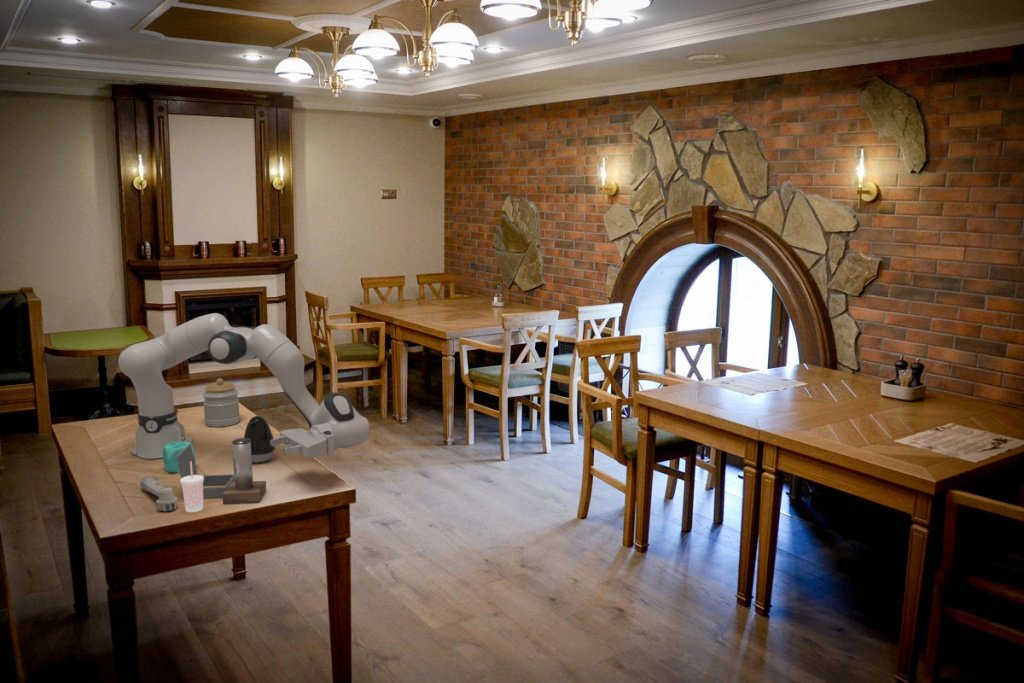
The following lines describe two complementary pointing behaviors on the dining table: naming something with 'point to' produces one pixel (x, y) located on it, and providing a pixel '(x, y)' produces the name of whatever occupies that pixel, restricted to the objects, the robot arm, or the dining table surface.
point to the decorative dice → (174, 455)
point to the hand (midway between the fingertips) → (277, 447)
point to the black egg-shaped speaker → (259, 439)
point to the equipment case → (209, 480)
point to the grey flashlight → (160, 493)
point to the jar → (221, 404)
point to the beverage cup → (193, 491)
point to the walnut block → (244, 493)
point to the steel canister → (242, 464)
